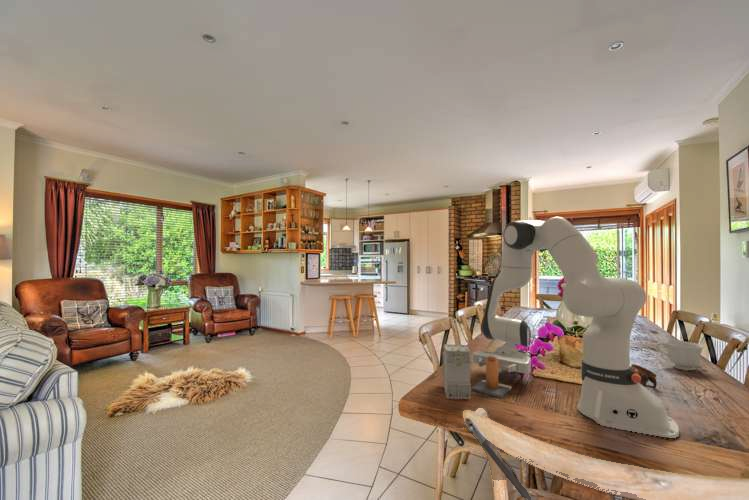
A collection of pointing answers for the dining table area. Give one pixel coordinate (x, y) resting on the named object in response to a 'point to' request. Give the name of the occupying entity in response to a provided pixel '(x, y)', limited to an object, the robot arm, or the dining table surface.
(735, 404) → the dining table surface
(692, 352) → the teacup
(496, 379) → the lockout cap
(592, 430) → the dining table surface
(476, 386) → the tag pad
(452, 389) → the circuit breaker
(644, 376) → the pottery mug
